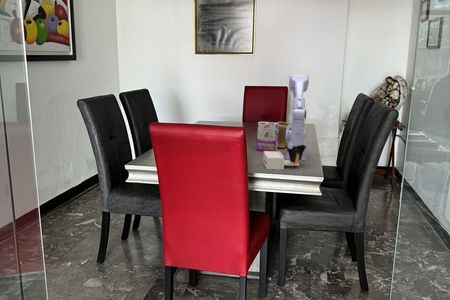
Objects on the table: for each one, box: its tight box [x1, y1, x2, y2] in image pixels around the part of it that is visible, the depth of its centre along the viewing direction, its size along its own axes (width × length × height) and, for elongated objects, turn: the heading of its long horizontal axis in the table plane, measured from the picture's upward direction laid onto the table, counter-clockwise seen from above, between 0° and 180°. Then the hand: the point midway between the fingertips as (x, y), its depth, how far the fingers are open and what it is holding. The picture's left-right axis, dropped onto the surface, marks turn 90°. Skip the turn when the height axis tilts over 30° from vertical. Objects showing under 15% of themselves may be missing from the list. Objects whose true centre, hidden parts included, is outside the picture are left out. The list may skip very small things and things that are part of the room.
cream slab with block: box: [284, 153, 300, 167], centre depth 195 cm, size 14×8×5 cm, turn 92°
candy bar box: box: [256, 121, 279, 152], centre depth 225 cm, size 11×5×16 cm, turn 69°
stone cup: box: [276, 121, 290, 149], centre depth 238 cm, size 15×12×15 cm
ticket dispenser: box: [262, 150, 286, 171], centre depth 195 cm, size 8×14×6 cm, turn 2°
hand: (295, 160), depth 195 cm, fingers open, 6 cm apart
